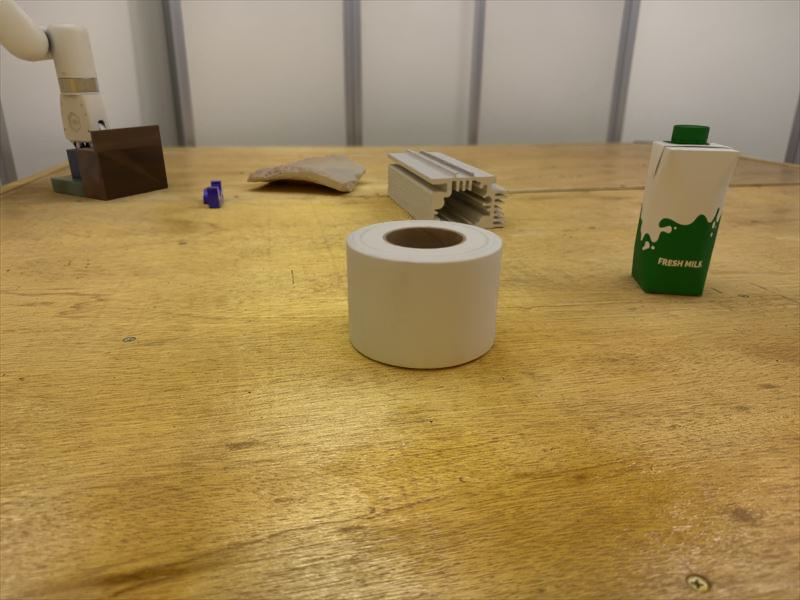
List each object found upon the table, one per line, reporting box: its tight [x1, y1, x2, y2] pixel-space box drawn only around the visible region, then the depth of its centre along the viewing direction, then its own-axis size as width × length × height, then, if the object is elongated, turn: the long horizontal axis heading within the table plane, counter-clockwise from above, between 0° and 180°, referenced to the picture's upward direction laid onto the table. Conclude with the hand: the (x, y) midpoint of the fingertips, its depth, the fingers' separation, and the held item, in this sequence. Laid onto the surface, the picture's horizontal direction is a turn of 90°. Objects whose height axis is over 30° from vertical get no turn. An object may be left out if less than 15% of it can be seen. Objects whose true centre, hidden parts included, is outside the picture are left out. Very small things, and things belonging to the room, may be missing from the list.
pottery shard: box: [246, 153, 367, 192], centre depth 131 cm, size 24×8×20 cm
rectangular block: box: [65, 147, 90, 178], centre depth 125 cm, size 4×10×6 cm, turn 152°
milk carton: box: [630, 124, 742, 297], centre depth 69 cm, size 9×9×20 cm
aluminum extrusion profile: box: [387, 148, 509, 230], centre depth 109 cm, size 14×31×10 cm, turn 15°
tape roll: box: [345, 219, 503, 369], centre depth 57 cm, size 16×15×11 cm
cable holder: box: [202, 179, 224, 209], centre depth 113 cm, size 8×4×4 cm, turn 11°
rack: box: [50, 124, 169, 202], centre depth 123 cm, size 18×16×14 cm
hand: (96, 172), depth 126 cm, fingers open, 3 cm apart
